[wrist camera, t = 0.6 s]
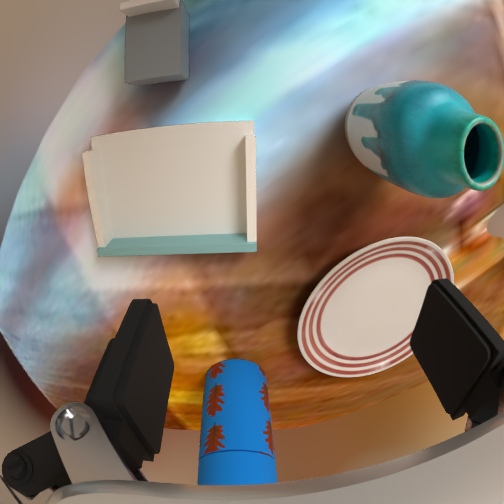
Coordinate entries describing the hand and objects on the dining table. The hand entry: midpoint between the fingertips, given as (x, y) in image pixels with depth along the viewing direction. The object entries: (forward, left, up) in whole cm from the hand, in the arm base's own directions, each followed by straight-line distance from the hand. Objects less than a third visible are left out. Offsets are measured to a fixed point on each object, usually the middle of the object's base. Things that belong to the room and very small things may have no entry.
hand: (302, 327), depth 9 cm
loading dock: (+1, -10, -27) cm, 28 cm away
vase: (-6, +14, -27) cm, 31 cm away
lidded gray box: (-15, -10, -27) cm, 32 cm away
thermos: (+35, -4, -27) cm, 44 cm away
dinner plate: (+21, +19, -27) cm, 39 cm away
